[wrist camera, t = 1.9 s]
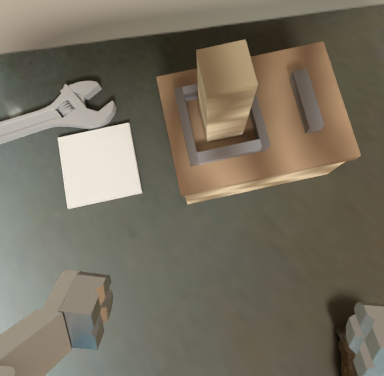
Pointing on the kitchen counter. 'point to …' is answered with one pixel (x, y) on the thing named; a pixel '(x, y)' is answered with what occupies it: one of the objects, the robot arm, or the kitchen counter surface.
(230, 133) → the oak block
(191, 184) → the brown rectangular box
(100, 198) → the white mat
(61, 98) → the adjustable wrench
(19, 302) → the kitchen counter surface
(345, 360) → the hand tool
